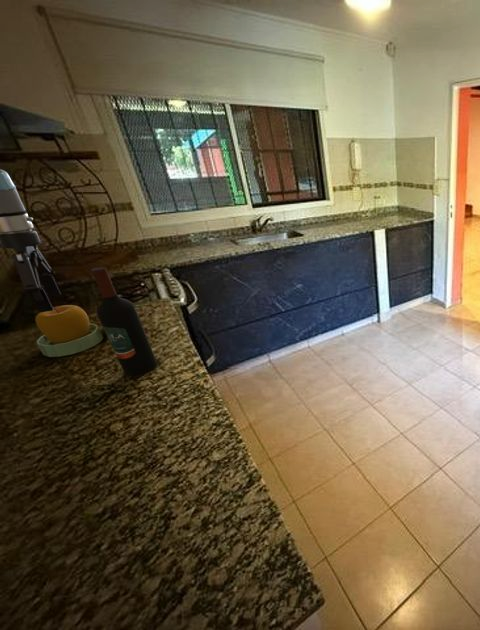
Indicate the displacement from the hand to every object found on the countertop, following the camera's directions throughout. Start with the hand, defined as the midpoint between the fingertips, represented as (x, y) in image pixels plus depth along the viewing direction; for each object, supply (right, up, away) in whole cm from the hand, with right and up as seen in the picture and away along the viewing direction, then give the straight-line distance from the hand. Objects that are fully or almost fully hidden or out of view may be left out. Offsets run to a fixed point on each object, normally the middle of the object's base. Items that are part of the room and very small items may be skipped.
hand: (51, 303), depth 102 cm
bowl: (0, -14, +7) cm, 15 cm away
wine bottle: (+31, -19, -5) cm, 37 cm away
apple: (0, -13, +7) cm, 15 cm away
